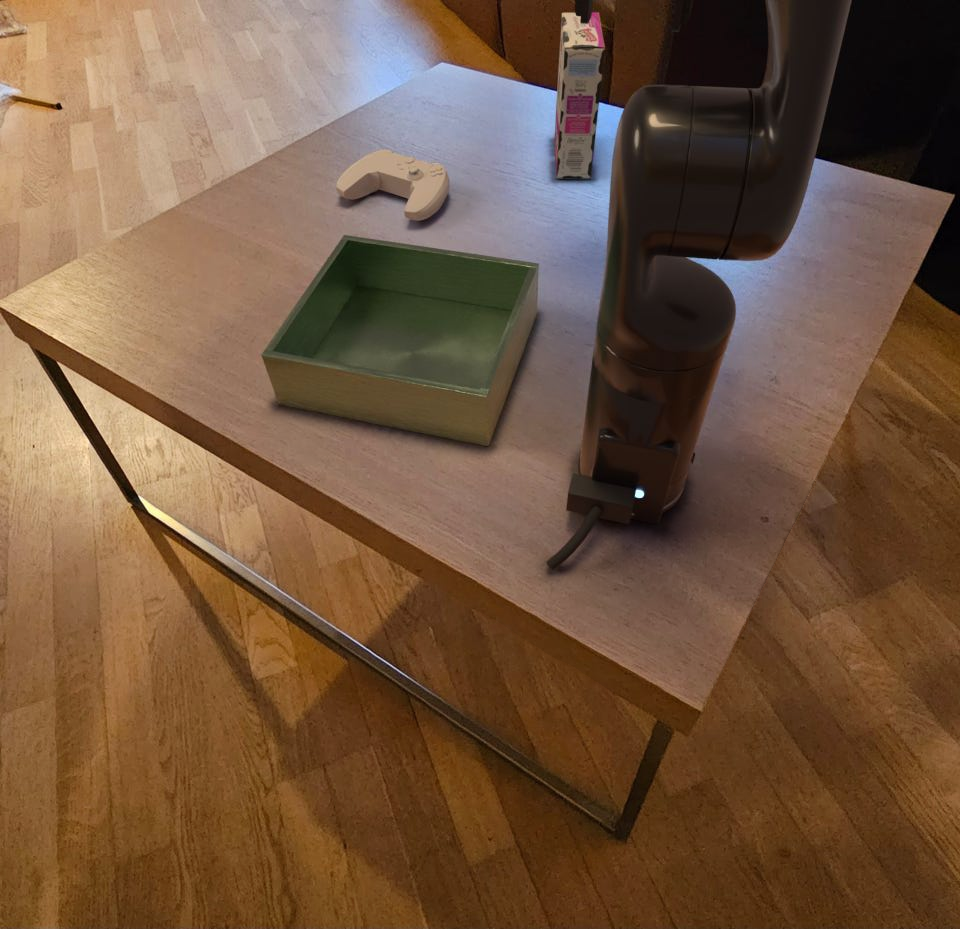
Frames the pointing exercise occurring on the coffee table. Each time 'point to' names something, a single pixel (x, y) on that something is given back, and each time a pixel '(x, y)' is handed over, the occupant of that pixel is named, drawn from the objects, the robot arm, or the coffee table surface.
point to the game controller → (398, 181)
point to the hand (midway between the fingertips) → (630, 24)
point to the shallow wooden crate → (407, 338)
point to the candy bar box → (578, 95)
